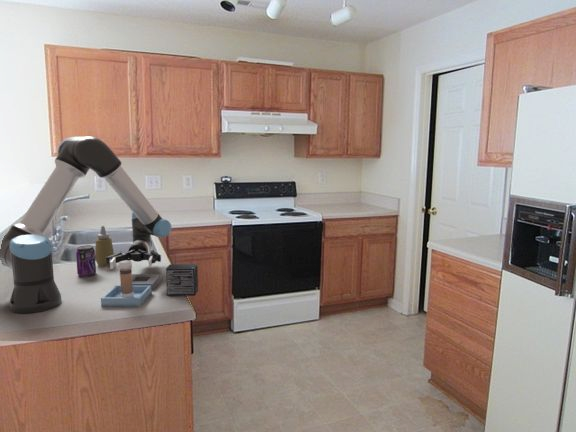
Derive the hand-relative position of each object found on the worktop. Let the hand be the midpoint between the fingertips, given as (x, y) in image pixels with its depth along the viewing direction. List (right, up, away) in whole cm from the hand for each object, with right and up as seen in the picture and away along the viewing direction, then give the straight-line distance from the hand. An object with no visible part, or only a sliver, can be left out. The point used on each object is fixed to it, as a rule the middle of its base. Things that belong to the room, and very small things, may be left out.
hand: (130, 264), depth 157 cm
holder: (+1, -9, +8) cm, 12 cm away
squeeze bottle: (-24, -4, +34) cm, 42 cm away
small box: (+20, -11, 0) cm, 22 cm away
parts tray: (+2, -11, -8) cm, 14 cm away
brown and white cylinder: (+2, -11, -8) cm, 13 cm away
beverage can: (-26, -7, +20) cm, 34 cm away
